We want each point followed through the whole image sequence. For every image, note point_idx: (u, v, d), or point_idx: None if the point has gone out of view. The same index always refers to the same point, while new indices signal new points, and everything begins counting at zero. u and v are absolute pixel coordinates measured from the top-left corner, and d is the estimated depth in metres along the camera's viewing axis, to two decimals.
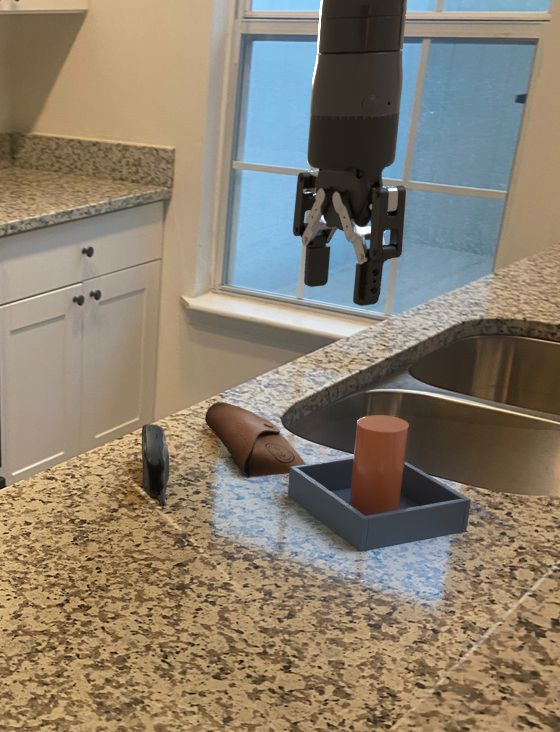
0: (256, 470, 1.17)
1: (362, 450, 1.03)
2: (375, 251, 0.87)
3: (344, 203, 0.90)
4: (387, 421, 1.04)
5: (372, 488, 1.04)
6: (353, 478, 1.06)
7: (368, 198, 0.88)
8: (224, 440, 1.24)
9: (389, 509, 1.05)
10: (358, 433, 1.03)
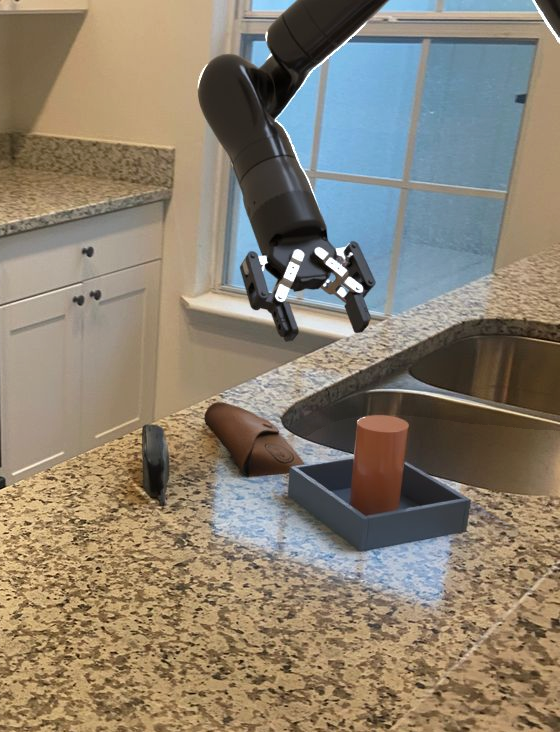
0: (255, 470, 1.17)
1: (362, 450, 1.03)
2: None
3: None
4: (387, 421, 1.04)
5: (372, 488, 1.04)
6: (353, 478, 1.06)
7: (265, 268, 1.13)
8: (223, 440, 1.24)
9: (389, 509, 1.05)
10: (358, 433, 1.03)
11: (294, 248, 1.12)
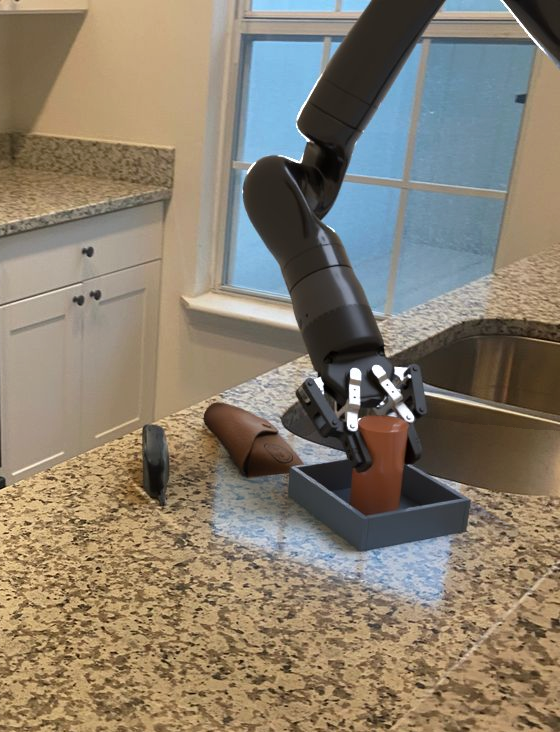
0: (255, 470, 1.17)
1: None
2: None
3: None
4: (387, 421, 1.04)
5: (372, 488, 1.04)
6: (353, 478, 1.06)
7: None
8: (223, 440, 1.24)
9: (389, 509, 1.05)
10: None
11: (349, 365, 1.06)
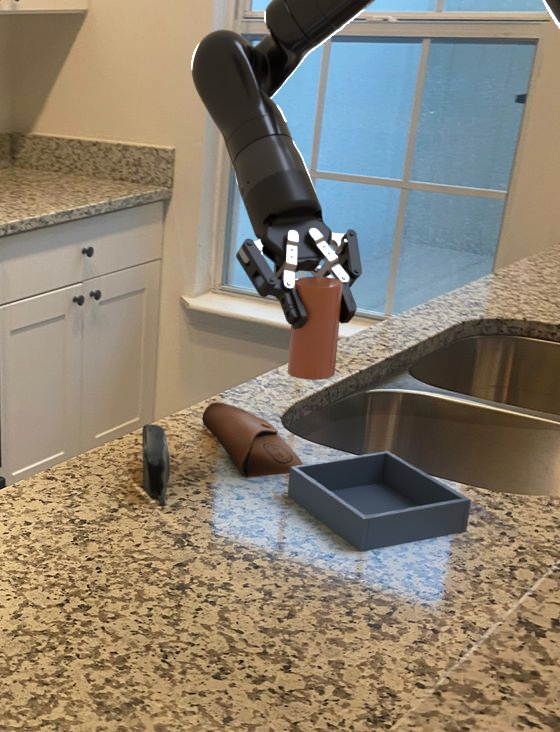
0: (254, 470, 1.17)
1: None
2: None
3: None
4: (323, 280, 1.08)
5: (308, 345, 1.09)
6: (291, 337, 1.10)
7: None
8: (222, 440, 1.24)
9: (324, 366, 1.09)
10: None
11: (288, 229, 1.10)
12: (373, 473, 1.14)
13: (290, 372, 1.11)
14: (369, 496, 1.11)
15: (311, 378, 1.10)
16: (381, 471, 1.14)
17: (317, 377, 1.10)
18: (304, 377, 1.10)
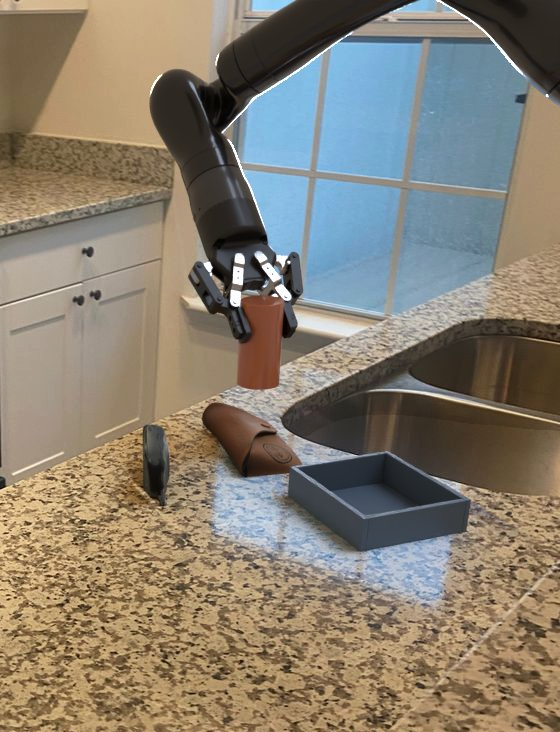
0: (254, 471, 1.17)
1: None
2: None
3: None
4: (267, 299, 1.18)
5: (253, 358, 1.19)
6: (238, 351, 1.20)
7: None
8: (221, 440, 1.24)
9: (269, 377, 1.20)
10: None
11: (235, 251, 1.20)
12: (373, 473, 1.14)
13: (238, 383, 1.22)
14: (369, 496, 1.11)
15: (257, 388, 1.20)
16: (381, 471, 1.14)
17: (262, 387, 1.20)
18: (250, 387, 1.20)
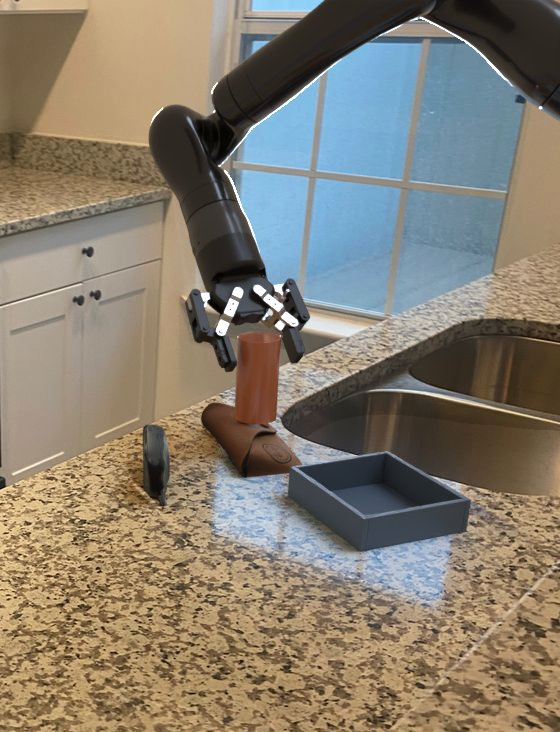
0: (253, 471, 1.17)
1: (241, 359, 1.20)
2: None
3: None
4: (263, 335, 1.20)
5: (250, 393, 1.20)
6: (236, 386, 1.22)
7: (208, 303, 1.22)
8: (221, 440, 1.24)
9: (266, 412, 1.21)
10: (238, 345, 1.20)
11: (234, 285, 1.22)
12: (373, 473, 1.14)
13: (236, 417, 1.23)
14: (369, 496, 1.11)
15: (254, 423, 1.22)
16: (381, 471, 1.14)
17: (259, 422, 1.22)
18: (248, 422, 1.22)
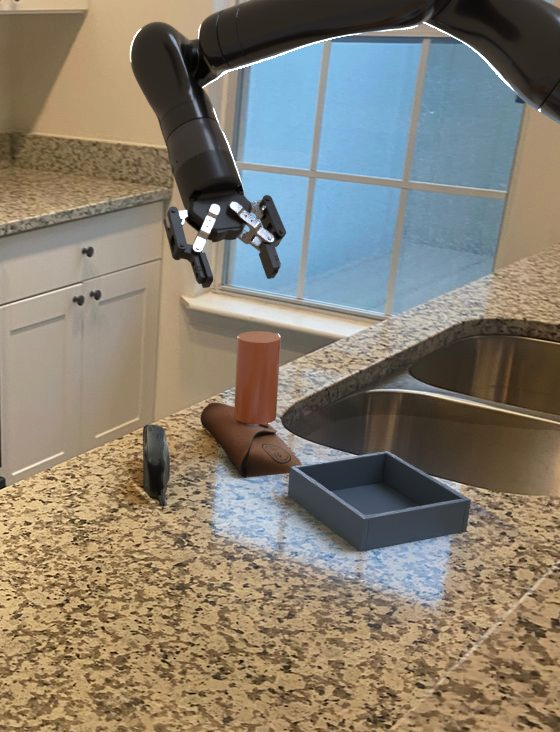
0: (253, 471, 1.17)
1: (241, 359, 1.20)
2: None
3: None
4: (263, 335, 1.20)
5: (250, 393, 1.20)
6: (236, 386, 1.22)
7: (186, 221, 1.25)
8: (220, 441, 1.24)
9: (266, 412, 1.21)
10: (238, 345, 1.20)
11: (211, 202, 1.25)
12: (373, 473, 1.14)
13: (236, 417, 1.23)
14: (369, 496, 1.11)
15: (254, 423, 1.22)
16: (381, 471, 1.14)
17: (259, 422, 1.22)
18: (248, 422, 1.22)
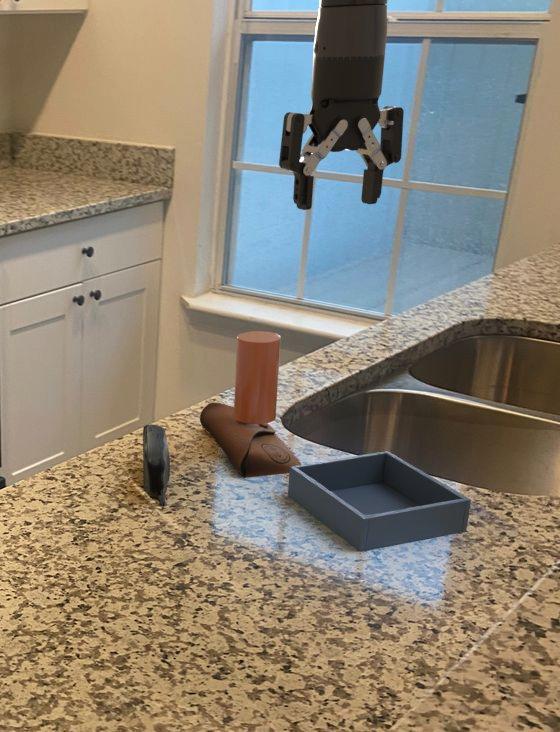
0: (252, 471, 1.17)
1: (241, 359, 1.20)
2: None
3: None
4: (263, 335, 1.20)
5: (250, 393, 1.20)
6: (235, 386, 1.22)
7: None
8: (219, 441, 1.24)
9: (265, 412, 1.21)
10: (237, 345, 1.20)
11: (341, 111, 1.13)
12: (373, 473, 1.14)
13: (235, 417, 1.23)
14: (369, 496, 1.11)
15: (253, 423, 1.22)
16: (381, 471, 1.14)
17: (259, 422, 1.22)
18: (247, 422, 1.22)
